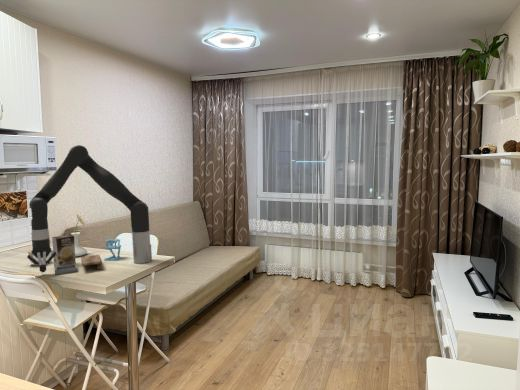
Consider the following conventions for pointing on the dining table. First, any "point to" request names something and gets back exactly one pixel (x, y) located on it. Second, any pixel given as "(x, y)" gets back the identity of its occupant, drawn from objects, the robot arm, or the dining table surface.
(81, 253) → the flower in vase
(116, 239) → the chair
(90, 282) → the dining table surface
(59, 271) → the dark grey flat block
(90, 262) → the light brown rounded block
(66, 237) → the coffee box
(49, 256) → the lidded jar
